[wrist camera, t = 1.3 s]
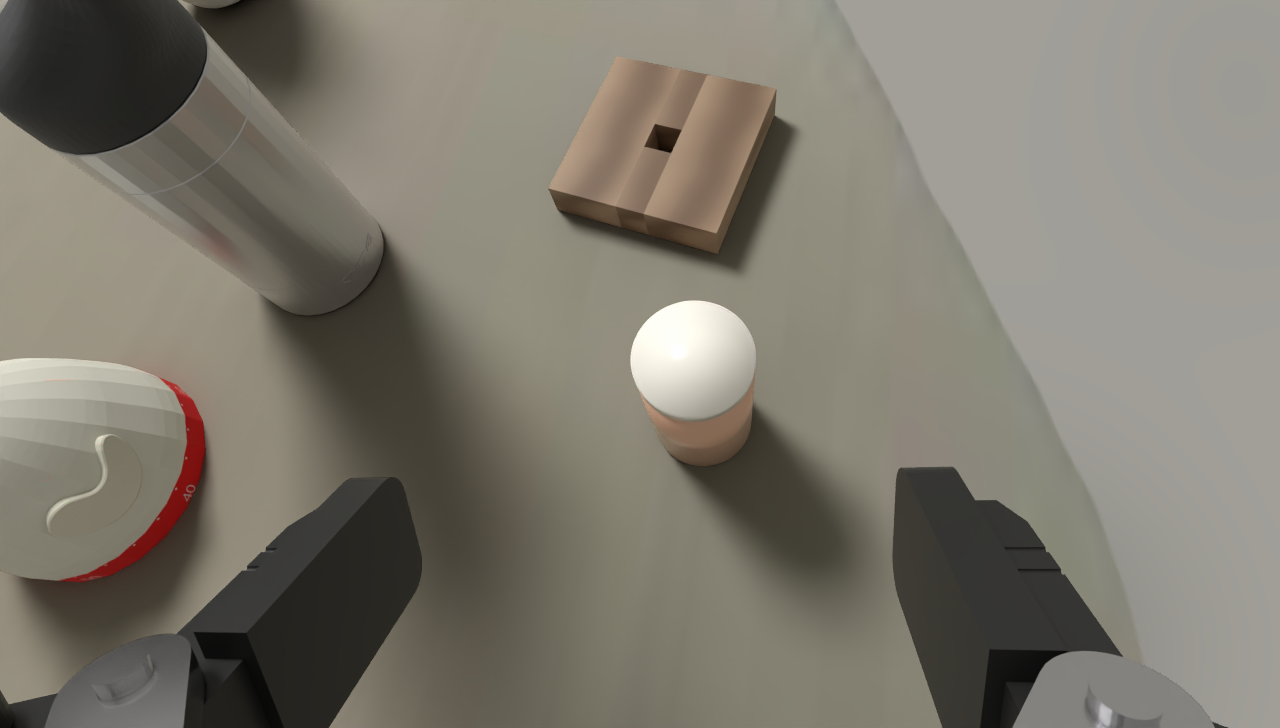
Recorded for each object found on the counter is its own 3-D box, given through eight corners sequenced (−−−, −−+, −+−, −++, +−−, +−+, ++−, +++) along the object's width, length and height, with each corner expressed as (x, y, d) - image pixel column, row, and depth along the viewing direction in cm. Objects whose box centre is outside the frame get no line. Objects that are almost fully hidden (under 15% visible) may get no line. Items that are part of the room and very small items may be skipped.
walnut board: (557, 209, 47) (548, 188, 45) (622, 82, 50) (616, 56, 48) (717, 253, 44) (716, 233, 41) (774, 114, 47) (776, 88, 45)
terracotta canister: (640, 446, 40) (611, 392, 30) (675, 361, 41) (657, 286, 32) (732, 480, 38) (731, 434, 29) (764, 391, 40) (772, 320, 31)
